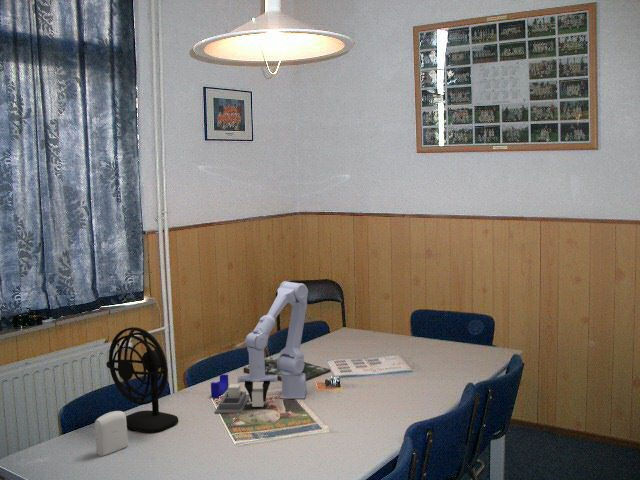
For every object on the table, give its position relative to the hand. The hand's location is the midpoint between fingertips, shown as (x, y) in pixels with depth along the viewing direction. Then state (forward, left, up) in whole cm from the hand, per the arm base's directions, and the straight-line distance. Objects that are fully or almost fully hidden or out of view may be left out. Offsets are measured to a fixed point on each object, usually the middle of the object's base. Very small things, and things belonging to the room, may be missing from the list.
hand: (258, 401), depth 266 cm
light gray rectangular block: (0, 0, -1) cm, 1 cm away
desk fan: (+37, +17, -3) cm, 41 cm away
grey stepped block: (+10, -3, -2) cm, 11 cm away
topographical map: (-6, -47, -3) cm, 47 cm away
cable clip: (+18, -17, -3) cm, 25 cm away
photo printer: (+41, +40, -3) cm, 57 cm away
